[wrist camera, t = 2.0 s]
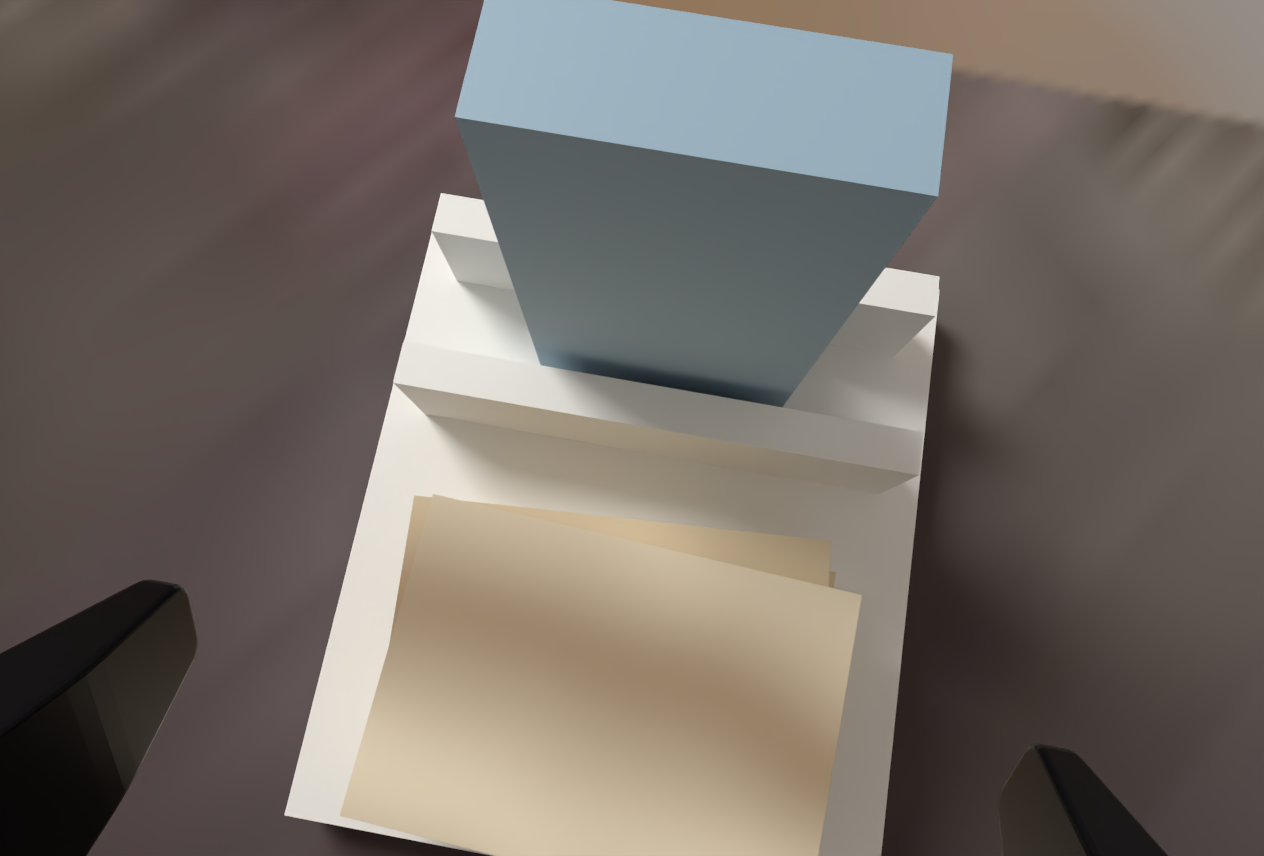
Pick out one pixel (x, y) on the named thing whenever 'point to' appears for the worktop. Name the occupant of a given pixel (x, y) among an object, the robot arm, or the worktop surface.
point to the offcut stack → (606, 687)
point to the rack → (639, 487)
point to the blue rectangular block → (695, 184)
